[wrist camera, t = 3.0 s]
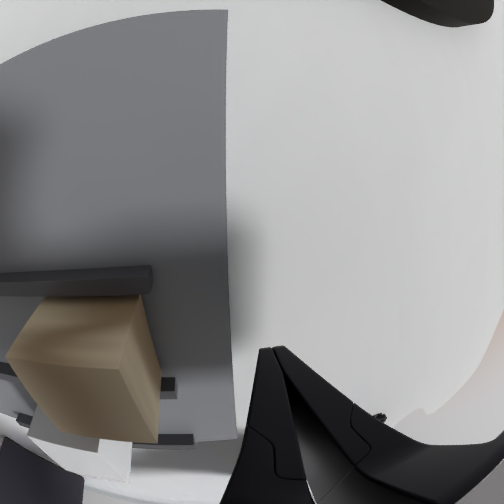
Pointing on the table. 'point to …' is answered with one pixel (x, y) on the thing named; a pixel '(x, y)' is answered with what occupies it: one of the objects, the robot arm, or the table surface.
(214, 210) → the grey railed board
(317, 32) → the table surface
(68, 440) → the white cube
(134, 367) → the beech slider
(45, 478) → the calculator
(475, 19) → the wireless charger
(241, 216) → the table surface
